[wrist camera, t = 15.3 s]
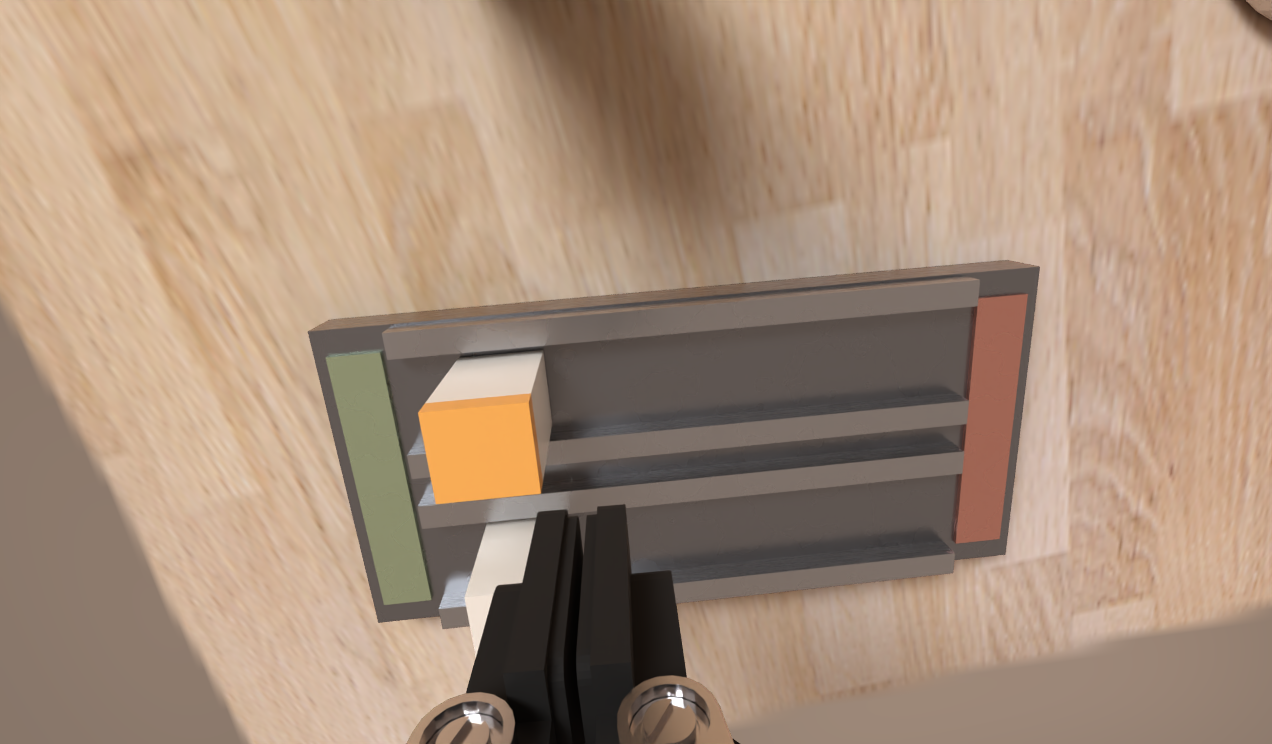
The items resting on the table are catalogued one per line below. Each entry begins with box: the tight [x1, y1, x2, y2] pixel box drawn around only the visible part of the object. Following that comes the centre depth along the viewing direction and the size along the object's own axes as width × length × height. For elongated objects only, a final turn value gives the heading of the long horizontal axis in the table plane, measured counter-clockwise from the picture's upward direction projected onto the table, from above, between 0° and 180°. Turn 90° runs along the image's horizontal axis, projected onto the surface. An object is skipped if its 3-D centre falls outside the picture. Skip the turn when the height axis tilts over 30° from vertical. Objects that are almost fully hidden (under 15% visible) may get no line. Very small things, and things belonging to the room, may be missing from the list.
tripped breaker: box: [418, 350, 552, 504], centre depth 21 cm, size 3×3×6 cm
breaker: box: [464, 517, 536, 656], centre depth 24 cm, size 3×3×5 cm
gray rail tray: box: [308, 260, 1040, 629], centre depth 26 cm, size 28×13×3 cm, turn 94°
